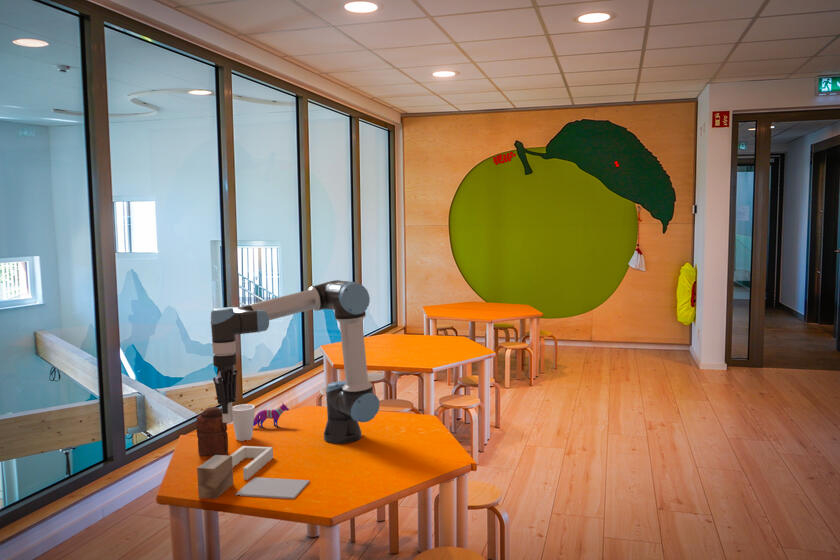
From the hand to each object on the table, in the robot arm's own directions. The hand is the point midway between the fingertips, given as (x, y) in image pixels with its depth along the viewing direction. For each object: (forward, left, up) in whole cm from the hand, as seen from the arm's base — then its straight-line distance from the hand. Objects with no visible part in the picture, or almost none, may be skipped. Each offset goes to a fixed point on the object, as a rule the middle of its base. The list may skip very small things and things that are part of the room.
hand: (227, 421), depth 232 cm
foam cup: (+15, -41, -21) cm, 49 cm away
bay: (0, -10, -20) cm, 23 cm away
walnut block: (0, +10, -20) cm, 23 cm away
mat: (-18, +6, -20) cm, 28 cm away
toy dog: (+11, -57, -21) cm, 62 cm away
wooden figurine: (+19, -23, -21) cm, 37 cm away
